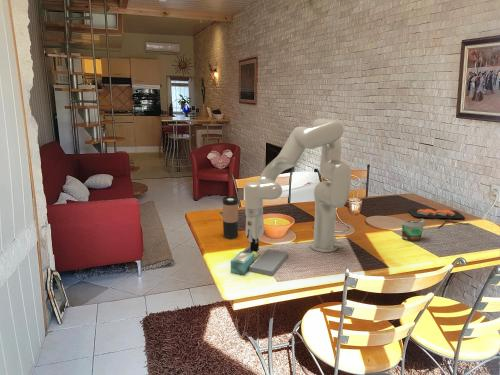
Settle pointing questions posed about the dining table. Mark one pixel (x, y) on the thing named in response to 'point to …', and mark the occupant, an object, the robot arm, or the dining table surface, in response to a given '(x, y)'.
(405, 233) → the food container
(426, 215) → the sushi plate
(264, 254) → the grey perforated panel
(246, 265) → the teal rectangular box
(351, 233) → the dining table surface
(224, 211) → the travel mug
